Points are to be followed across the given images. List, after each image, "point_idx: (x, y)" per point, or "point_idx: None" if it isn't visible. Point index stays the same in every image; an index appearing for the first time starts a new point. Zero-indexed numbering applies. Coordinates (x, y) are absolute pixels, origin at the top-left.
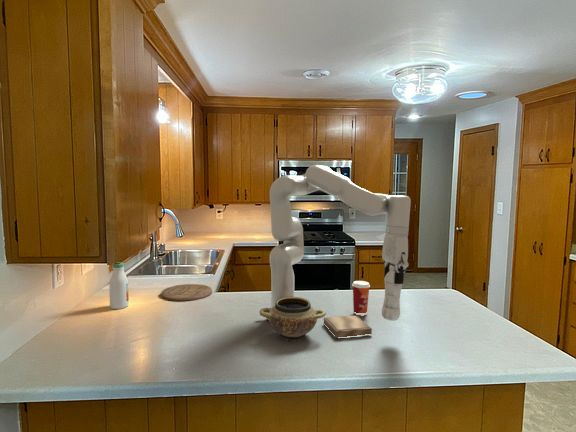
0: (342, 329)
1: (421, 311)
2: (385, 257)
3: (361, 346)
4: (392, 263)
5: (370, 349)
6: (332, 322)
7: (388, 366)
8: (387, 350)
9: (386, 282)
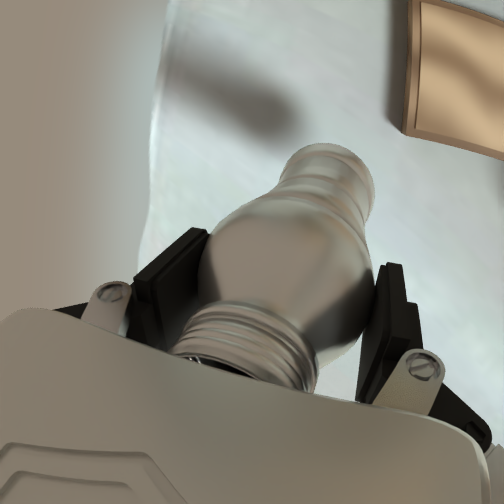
0: (421, 19)
1: (463, 397)
2: (291, 453)
3: (333, 50)
4: (57, 311)
5: (303, 66)
6: (492, 29)
7: (191, 68)
8: (282, 116)
9: (282, 197)
